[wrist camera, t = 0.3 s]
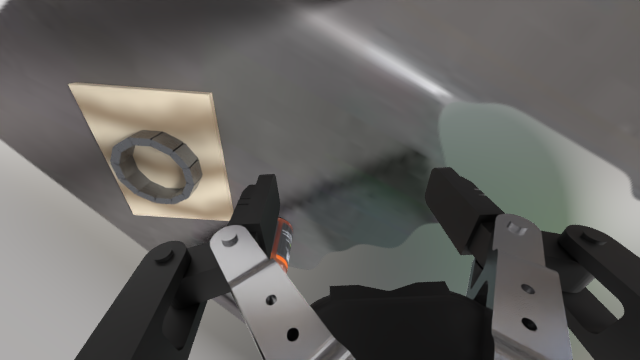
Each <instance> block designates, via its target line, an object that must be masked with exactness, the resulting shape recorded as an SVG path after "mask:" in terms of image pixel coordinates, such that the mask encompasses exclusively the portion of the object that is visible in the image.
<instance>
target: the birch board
mask: <svg viewBox="0 0 640 360" xmlns="http://www.w3.org/2000/svg"><path fill="white" fill-rule="evenodd" d="M68 85H69V87H70V89H71V91H72V93H73V95H74V97H75V99H76V101H77V103H78V105H79V107H80V109H81V111H82V113H83V115H84V117H85V119H86V121H87V123H88V125H89V127H90V129H91V131H92V133H93V135H94V137H95V139H96V141H97V143H98V145H99V147H100V149H101V151H102V153H103V155H104V157H105V159H106V161H107V163H108V165H109V167H110V169H111V171H112V173H113V175H114V177H115V178H116V180H117V182H118V184H119V186H120V188H121V190H122V192H123V194H124V196H125V198H126V200H127V202H128V204H129V206H130V208H131V210H132V212H133V214H134V215H144V216H160V217H175V218H191V219H207V220H222V221H230V219H231V216H232V214H233V206H232V201H231V195H230V190H229V184H228V179H227V173H226V168H225V162H224V157H223V151H222V146H221V141H220V135H219V130H218V124H217V119H216V113H215V108H214V102H213V97H212V93H207V92H194V91H181V90H168V89H155V88H142V87H129V86H116V85H103V84H90V83H77V82H76V83H70V84H68ZM141 130H151V131H163V132H166V133H167V134H169V135H171V136H173V137H175V138H177V139H179V140H181V141H183V142H184V143H185V144H186V145H187V146H188V147H189V148H190V149H191V150H192V152H193V153H194V154H195V155H196V156H197V157H198V159H199V162H200V166H201V170H202V174H203V175H202V178H201V181H200V183H199V185H198V187H197V189H196V190H195V191H194V192H193V193H192V195H191V196H190V197H189V198H188V199H186V200H183V201H181V202H179V203H177V204H159V203H156V202H155V203H154V202H151V201H149V200H147V199H144V198H142V197H140V196H137V195H136V194H137V193H136V194H134V193H133V192H132V191H131V190H130V189H128V188H127V187H126V186H125V185H124V184H123V183H121V182H120V181H119V180H118V178H117V176H116V174H115V172H114V170H113V168H112V166H111V164H110V163H111V162H110V159H111V154H112V148H113V147H114V145H116V144H118V143H119V142H121V141H123V140H124V139H126V138H128V137H130V136H132V135H133V134H135V133H137V132H139V131H141ZM184 143H183V144H184ZM133 157H134V160H135V162H136V164H137V167H138V169H139V170H140V171H141V172H142V173H143V174H144V175H145V176H146V177H147V178H148V179H149V180H150V181H152V182H154V183H157V184H159V185H161V186H163V187H165V188H178V189H180V188H183V187H185V185H186V180H185V177H184V173H183V170H182V168H181V167H180V166H179V165H178V164H177V163H176V162H175V161H174V160H173V159H172V158H171V157H170V156H169V155H167V154H165V153H163V152H161V151H159V150H157V149H155V148H153V147H150V146H136V145H135V149H134V153H133Z"/></svg>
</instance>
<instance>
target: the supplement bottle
mask: <svg viewBox="0 0 640 360" xmlns="http://www.w3.org/2000/svg"><path fill="white" fill-rule="evenodd" d="M292 235H293V228H292V226H291V225H290V223H289V222H288V221H286V220H284V219H282V218H279V217H278V221H277V226H276V231H275V236H274V241H273V247H272V252H271V257H270V259H271V258H273V259H274V260H275V261H276V262H277V263H278V264H279V266H280V267H281V268H282V270H283V271H284V272H285V274H286V273H287V268H288V262H289V255H290V249H291V242H292Z"/></svg>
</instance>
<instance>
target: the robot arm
mask: <svg viewBox="0 0 640 360" xmlns="http://www.w3.org/2000/svg"><path fill="white" fill-rule="evenodd" d="M425 200H426V203H427V205H428V207H429V208H430V210H431V211H432V213H433V214H434V216H435V217H436V219H437V220H438V222H439V223H440V224H441V226H442V228H443V229H444V231H445V232H446V234H447V235H448V237H449V238H450V239H451V241H452V243H453V244H454V246H455V247H456V248H457V250H458V252H459V253H460V255H473V256H474V257H475V258H474V260H473V262H472V267H471V272H470V277H469V283H468V288H467V293H466V296H463V295H461V294H458V293H454V292H451V291H449V289H448V287H447V285H446V283H445V281H442V282H418V283H414V284H411V285H407V286H405V287H402V288H398V289H395V290H392V291H385V290H380V289H375V288H370V287H365V286H360V285H349V286H330V295H329V296H326V297H323V298H322V299H319V300H317V301H316V302H314V303H313V304H311V305H309V304H308V302H307V301H306V300H305V299H304V297H303V296H302V295H301V293H300V292H299V291H298V289H297V288H296V287H295V285H294V284H293V283H292V281H291V280H290V279H289V278H288V276H287V275H286V274H285V272H284V271H283V270H282V268H281V267H280V266H279V264H278V263H277V262H276V261H275V260H274V259H273V258H271V259H270V257H271V252H272V247H273V241H274V236H275V231H276V226H277V221H278V215H279V210H280V199H279V193H278V187H277V181H276V176H275V174H267V175H259V177H258V180H257V183H256V185H249V186H248V187H247V188H246V189H245V190H244V191H243V192H242V194H241V196H240V200H239V201H238V203H237V206H236V207H235V210H234V212H233V214H232V216H231V219H230V221H229V223H228V225H227V227H225V228H222V229H221V230H219V231H218V232H216V233H215V234H214V235H213V237H212V238H211V240H210V242H208V243H205V244H201V245H198V246H194V247H191V248H186V246H185V244H184V243H182V242H180V241H170V242H166V243H163V244H161V245H159V246H157V247H155V248H154V249H152V250H151V251H150V252H149V253H148V254H147V255H146V256H145V257H144V258H143V260H142V261H141V263H140V265H139V266H138V267H137V269H136V270H135V271H134V273H133V274H132V276H131V277H130V279H129V280H128V282H127V283H126V285H125V286H124V288H123V289H122V290H121V292H120V293H119V295H118V296H117V298H116V299H115V301H114V302H113V304H112V305H111V307H110V308H109V310H108V311H107V313H106V314H105V315H104V317H103V318H102V320H101V321H100V323H99V324H98V326H97V327H96V329H95V330H94V331H93V333H92V334H91V336H90V337H89V339H88V340H87V342H86V344H85V345H84V346H83V348H82V349H81V351H80V352H79V354H78V355H77V356H76V358H75V359H74V360H188V357H189V354H190V351H191V348H192V344H193V342H194V339H195V336H196V333H197V330H198V327H199V324H200V321H201V318H202V315H203V312H204V309H205V306H206V303H207V300H209V299H212V298H215V297H217V296H220V295H223V294H226V293H229V292H231V294H232V296H233V298H234V300H235V302H236V304H237V306H238V309H239V311H240V313H241V315H242V317H243V319H244V321H245V323H246V325H247V327H248V329H249V331H250V333H251V336H252V338H253V340H254V342H255V344H256V346H257V348H258V350H259V352H260V354H261V357H262V359H263V360H573V356H572V350H571V344H570V338H569V333H568V327H569V329H570V330H571V331H572V332H573V333H574V335H575V336H576V337H577V339H578V340H579V341H580V342H581V344H582V345H583V346H584V347H585V348H586V350H587V351H588V352H589V353H590V355H591V356H592V357H593V358H594V360H640V258H639V257H638V256H636V255H635V254H633V253H632V252H631V251H630V250H628V249H627V248H625V247H624V246H623V245H621V244H620V243H619V242H617V241H616V240H614V239H613V238H612V237H610V236H608V235H606V234H605V233H603V232H600V231H598V230H596V229H593V228H590V227H586V226H581V225H570V226H568V227H567V228H566V229H565V230H564V231H563V233H562V234H557V233H551V232H545V231H540V229H539V228H538V227H537V226H536V225H535V224H534V223H532V222H531V221H529V220H527V219H525V218H523V217H520V216H517V215H513V214H505V213H504V212H503V211H502V210H501V209H500V208H499V207H497V206H496V205H495V204H494V203H493V202H492V201H491V200H490V199H489V198H488V197H487V196H485V195H484V193H483V192H482V191H480V190H479V189H478V188H477V187H476V186H475V185H474V184H473V183H472V182H471V181H469V180H467V179H465V178H463V177H460V176H459V175H458V174H457V173H456V172H455V171H454V170H453V169H452V168H450V167H445V168H434V169H433V170H432V171H431V175H430V178H429V182H428V185H427V189H426V193H425ZM594 278H596V279H597V280H598V281H599V282H601V284H602V285H604V286H605V287H606V288H607V289H608V290H609V291H610V292H611V293H612V294H613V295H614V296H616V297H617V298H618V299H619V301H620V302H621V303H622V305H623V307H624V315H623V317H622V318H620V319H619V320H618V319H617V318H616V317H615V316H614V315H613V314H612V313H611V312H610V311H609V310H608V309H607V308H606V307H605V306H604V305H603V304H602V303H601V302H600V301H599V300H598V299H597V298H596V297H595V296H594V295H593V294H592V293H591V292H590V291H589V290H588V289H587V288H586V286H587V285H588V284H589V283H590V282H591V281H592V280H593V279H594Z"/></svg>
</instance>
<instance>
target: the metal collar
mask: <svg viewBox="0 0 640 360" xmlns="http://www.w3.org/2000/svg"><path fill="white" fill-rule="evenodd" d="M183 143H184V142H183V141H181V140H179V139H177V138H175V137H173V136H171V135H169V134H167V133H166V132H163V131H151V130H141V131H139V132H137V133H135V134H133V135H132V136H130V137H128V138H126V139H124V140H123V141H121V142H119V143H118V144H116V145H114V147H113V148H112V154H111V159H110V162H111V163H110V164H111V166H112V168H113V170H114V172H115V174H116V176H117V178H118V180H119V181H120V182H121V183H123V184H124V185H125V186H126V187H127V188H128V189H130V190H131V191H132V192H133V193H134V194H136V193H137V194H136V195H137V196H140V197H142V198H144V199H147V200H149V201H151V202H154V203H155V202H156V203H159V204H177V203H179V202H181V201H183V200H186V199H188V198H189V197H190V196H191V195H192V193H193V192H194V191H195V190H196V189H197V187H198V185H199V183H200V181H201V178H202V175H203V174H202V170H201V166H200V162H199V159H198V157H197V156H196V155H195V154H194V153H193V152H192V150H191V149H190V148H189V147H188V146H187V145H186V144H185V143H184V144H183ZM135 145H136V146H150V147H153V148H155V149H157V150H159V151H161V152H163V153H165V154H167V155H169V156H170V157H171V158H172V159H173V160H174V161H175V162H176V163H177V164H178V165H179V166H180V167H181V168H182V170H183V173H184V177H185V180H186V185H185V187H183V188H180V189H178V188H165V187H163V186H161V185H159V184H157V183H154V182H152V181H150V180H149V179H148V178H147V177H146V176H145V175H144V174H143V173H142V172H141V171H140V170H139V169H138V167H137V164H136V162H135V160H134V157H133V153H134V149H135Z"/></svg>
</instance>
